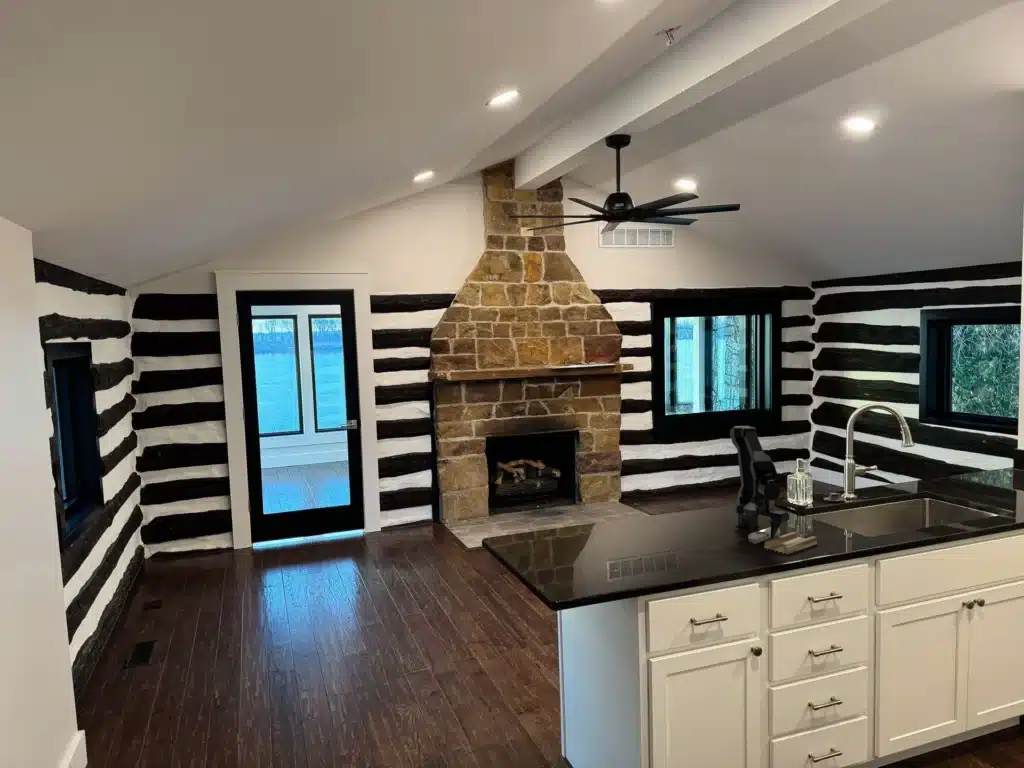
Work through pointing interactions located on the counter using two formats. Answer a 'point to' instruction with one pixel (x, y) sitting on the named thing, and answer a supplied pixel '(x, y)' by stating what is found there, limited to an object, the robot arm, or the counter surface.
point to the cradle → (790, 543)
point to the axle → (762, 535)
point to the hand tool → (789, 504)
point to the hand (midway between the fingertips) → (761, 535)
